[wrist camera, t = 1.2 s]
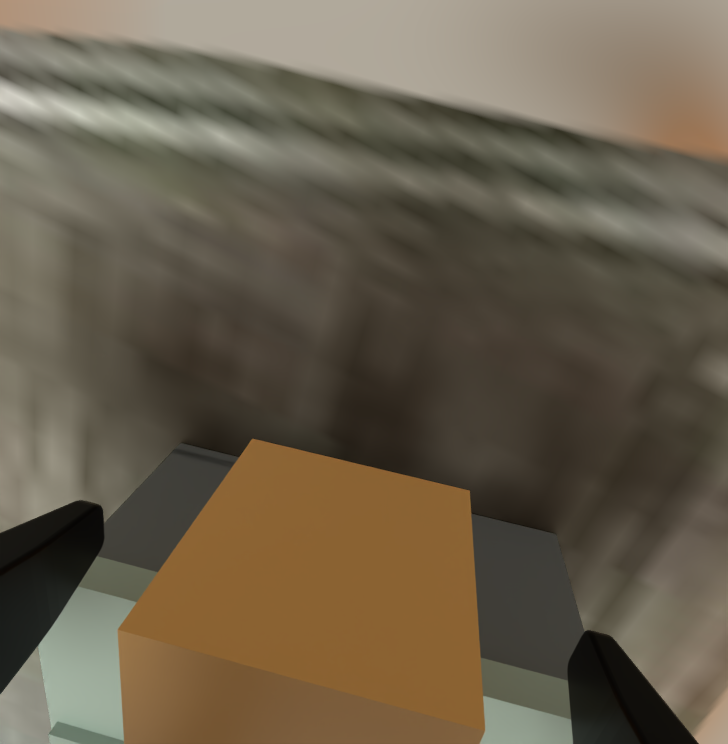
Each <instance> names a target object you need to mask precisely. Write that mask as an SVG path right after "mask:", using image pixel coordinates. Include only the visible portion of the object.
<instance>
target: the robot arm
mask: <svg viewBox="0 0 728 744" xmlns="http://www.w3.org/2000/svg"><path fill="white" fill-rule="evenodd" d="M104 539H105V534H104V518H103V509H102V507H101V506H100V505H99V504H95V503H91V502H87V501H83V500H79V501H75V502H73V503H70V504H68V505H65V506H63V507H61V508H58V509H56V510H54V511H51V512H49V513H47V514H44V515H42V516H39V517H37V518H35V519H32V520H30V521H28V522H25V523H23V524H20V525H18V526H16V527H13V528H11V529H9V530H6V531H4V532H2V533H0V694H1V693H2V692H3V690H4V689H5V688H6V686H7V685H8V684H9V682H10V681H11V680H12V679H13V677H14V676H15V675H16V673H17V672H18V671H19V669H20V668H21V667H22V666H23V664H24V663H25V662H26V660H27V659H28V658H29V656H30V655H31V654H32V653H33V651H34V650H35V649H36V647H37V646H38V645H39V644H40V642H41V641H42V640H43V638H44V637H45V636H46V634H47V633H48V631H49V630H50V629H51V627H52V626H53V624H54V623H55V621H56V620H57V618H58V617H59V615H60V614H61V612H62V611H63V609H64V608H65V606H66V604H67V603H68V601H69V600H70V598H71V597H72V595H73V593H74V592H75V590H76V589H77V587H78V585H79V584H80V582H81V581H82V579H83V578H84V576H85V574H86V573H87V571H88V570H89V568H90V567H91V565H92V563H93V562H94V560H95V559H96V557H97V555H98V554H99V552H100V550H101V549H102V546H103V543H104ZM567 677H568V689H569V701H570V713H571V725H572V737H573V744H699V743H698V742H697V741H696V740H695V738H694V737H693V736H692V735H691V733H690V732H689V731H688V730H687V729H686V727H685V726H684V725H683V724H682V722H681V721H680V720H679V719H678V717H677V716H676V715H675V714H674V712H673V711H672V710H671V709H670V708H669V706H668V705H667V704H666V703H665V701H664V700H663V699H662V698H661V696H660V695H659V694H658V693H657V691H656V690H655V689H654V688H653V687H652V685H651V684H650V683H649V682H648V680H647V679H646V678H645V677H644V675H643V674H642V673H641V672H640V670H639V669H638V668H637V667H636V666H635V664H634V663H633V662H632V661H631V659H630V658H629V657H628V656H627V654H626V653H625V652H624V651H623V649H622V648H621V647H620V646H619V645H618V643H617V642H616V641H615V640H614V639H613V638H612V637H611V636H609V635H607V634H603V633H599V632H595V631H591V630H587V631H585V632H584V633H583V634H582V636H581V638H580V640H579V642H578V643H577V645H576V647H575V649H574V651H573V653H572V655H571V657H570V659H569V662H568V667H567Z"/></svg>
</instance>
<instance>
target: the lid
mask: <svg viewBox="0 0 728 744" xmlns="http://www.w3.org/2000/svg"><path fill="white" fill-rule="evenodd" d="M38 650H39V656H40V662H41V668H42V674H43V680H44V687H45V693H46V699H47V705H48V711H49V717H50V724H51V731H50V733H49V734H48V735H49V741H50V744H573V737H572V725H571V713H570V701H569V689H568V681H567V680H563V679H560V678H556V677H552V676H548V675H545V674H541V673H537V672H533V671H529V670H526V669H522V668H518V667H514V666H510V665H507V664H503V663H499V662H495V661H492V660H488V659H484V658H481V656H480V641H479V626H478V610H477V595H476V579H475V564H474V549H473V533H472V518H471V503H470V491H469V490H465V489H461V488H457V487H453V486H448V485H444V484H440V483H436V482H432V481H428V480H423V479H419V478H415V477H411V476H407V475H402V474H398V473H394V472H390V471H386V470H382V469H377V468H373V467H369V466H365V465H361V464H357V463H352V462H348V461H344V460H340V459H336V458H331V457H327V456H323V455H319V454H315V453H311V452H306V451H302V450H298V449H294V448H290V447H286V446H281V445H277V444H273V443H269V442H265V441H260V440H256V439H252V440H251V441H250V443H249V444H248V446H247V447H246V448H245V450H244V451H243V453H242V454H241V455H240V457H239V458H238V460H237V461H236V463H235V464H234V465H233V467H232V468H231V470H230V471H229V472H228V474H227V475H226V477H225V478H224V480H223V481H222V482H221V484H220V485H219V487H218V488H217V489H216V491H215V492H214V494H213V495H212V497H211V498H210V499H209V501H208V502H207V504H206V505H205V506H204V508H203V509H202V511H201V512H200V514H199V515H198V516H197V518H196V519H195V521H194V522H193V523H192V525H191V526H190V528H189V529H188V530H187V532H186V533H185V535H184V536H183V538H182V539H181V540H180V542H179V543H178V545H177V546H176V547H175V549H174V550H173V552H172V553H171V555H170V556H169V557H168V559H167V560H166V562H165V563H164V564H163V566H162V567H161V569H160V570H159V572H155V571H151V570H147V569H144V568H140V567H136V566H132V565H128V564H125V563H121V562H117V561H113V560H110V559H106V558H102V557H98V556H97V557H96V559H95V560H94V562H93V563H92V565H91V567H90V568H89V570H88V571H87V573H86V574H85V576H84V578H83V579H82V581H81V582H80V584H79V585H78V587H77V589H76V590H75V592H74V593H73V595H72V597H71V598H70V600H69V601H68V603H67V604H66V606H65V608H64V609H63V611H62V612H61V614H60V615H59V617H58V618H57V620H56V621H55V623H54V624H53V626H52V627H51V629H50V630H49V631H48V633H47V634H46V636H45V637H44V638H43V640H42V641H41V642H40V644H39V645H38Z"/></svg>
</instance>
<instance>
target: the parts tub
mask: <svg viewBox="0 0 728 744" xmlns="http://www.w3.org/2000/svg"><path fill="white" fill-rule="evenodd" d="M238 458H239V457H236V456H232V455H228V454H224V453H220V452H216V451H211V450H207V449H203V448H199V447H195V446H191V445H187V444H183V443H180V444H179V445H178V446H177V447H176V448H175V449H174V450H173V451H172V453H171V454H170V455H169V456H168V457H167V458H166V459H165V460H164V461H163V462H162V463H161V464H160V465H159V466H158V467H157V468H156V469H155V470H154V471H153V473H152V474H151V475H150V476H149V477H148V478H147V479H146V480H145V481H144V482H143V483H142V484H141V485H140V486H139V487H138V488H137V489H136V490H135V491H134V493H133V494H132V495H131V496H130V497H129V498H128V499H127V500H126V501H125V502H124V503H123V504H122V505H121V506H120V507H119V508H118V509H117V510H116V511H115V513H114V514H113V515H112V516H111V517H110V518H109V519H108V520H107V521H106V522H105V523H104V534H105V539H104V543H103V546H102V549H101V550H100V552H99V554H98V555H97V556H98V557H102V558H106V559H110V560H113V561H117V562H121V563H125V564H128V565H132V566H136V567H140V568H144V569H147V570H151V571H155V572H159V570H160V569H161V567H162V566H163V564H164V563H165V562H166V560H167V559H168V557H169V556H170V555H171V553H172V552H173V550H174V549H175V547H176V546H177V545H178V543H179V542H180V540H181V539H182V538H183V536H184V535H185V533H186V532H187V530H188V529H189V528H190V526H191V525H192V523H193V522H194V521H195V519H196V518H197V516H198V515H199V514H200V512H201V511H202V509H203V508H204V506H205V505H206V504H207V502H208V501H209V499H210V498H211V497H212V495H213V494H214V492H215V491H216V489H217V488H218V487H219V485H220V484H221V482H222V481H223V480H224V478H225V477H226V475H227V474H228V472H229V471H230V470H231V468H232V467H233V465H234V464H235V463H236V461H237V460H238ZM471 518H472V533H473V549H474V564H475V579H476V595H477V610H478V626H479V641H480V656H481V658H484V659H488V660H492V661H495V662H499V663H503V664H507V665H510V666H514V667H518V668H522V669H526V670H529V671H533V672H537V673H541V674H545V675H548V676H552V677H556V678H560V679H563V680H567V681H568V677H567V667H568V662H569V659H570V657H571V655H572V653H573V651H574V649H575V647H576V645H577V643H578V642H579V640H580V638H581V636H582V634H583V633H584V629H583V625H582V622H581V619H580V615H579V612H578V608H577V605H576V601H575V598H574V594H573V591H572V587H571V584H570V580H569V577H568V574H567V570H566V567H565V563H564V560H563V556H562V553H561V549H560V546H559V542H558V539H557V535H556V534H553V533H549V532H545V531H541V530H537V529H533V528H529V527H524V526H520V525H516V524H512V523H508V522H504V521H500V520H496V519H491V518H487V517H483V516H479V515H475V514H471Z"/></svg>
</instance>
